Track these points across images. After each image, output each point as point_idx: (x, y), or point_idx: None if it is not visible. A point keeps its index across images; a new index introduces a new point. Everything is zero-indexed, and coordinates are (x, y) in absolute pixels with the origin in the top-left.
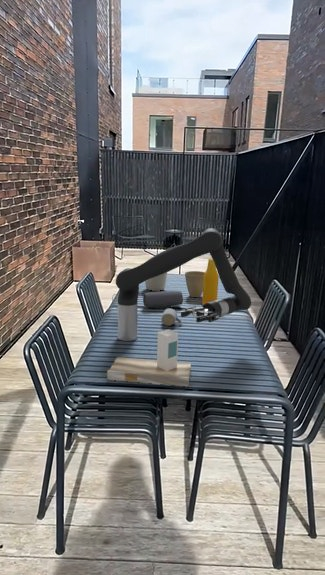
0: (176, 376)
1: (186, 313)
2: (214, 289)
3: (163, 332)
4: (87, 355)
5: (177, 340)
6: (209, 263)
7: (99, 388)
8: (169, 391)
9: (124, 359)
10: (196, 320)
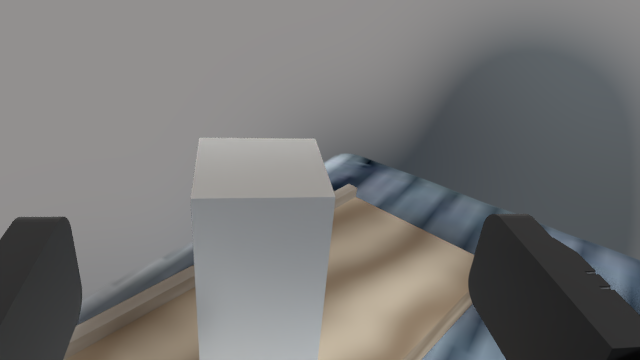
0: (90, 324)
1: (545, 339)
2: None
3: (285, 151)
4: (594, 245)
5: (195, 257)
6: None
7: None
8: (90, 311)
9: (454, 273)
10: (73, 270)
